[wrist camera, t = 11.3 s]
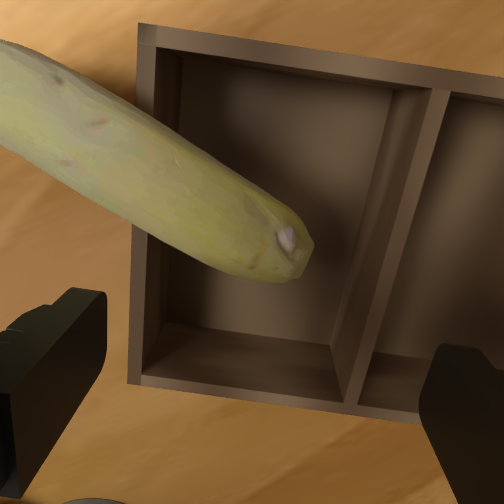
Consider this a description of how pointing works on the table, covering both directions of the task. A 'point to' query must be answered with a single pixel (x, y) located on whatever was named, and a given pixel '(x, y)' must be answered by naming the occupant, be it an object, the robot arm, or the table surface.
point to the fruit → (145, 170)
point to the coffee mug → (92, 501)
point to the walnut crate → (326, 225)
